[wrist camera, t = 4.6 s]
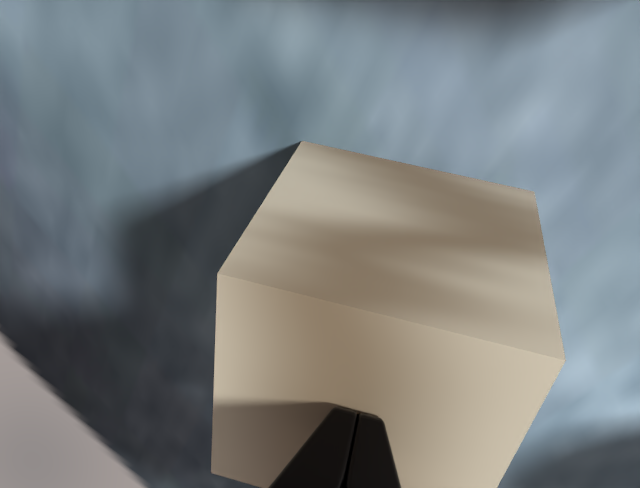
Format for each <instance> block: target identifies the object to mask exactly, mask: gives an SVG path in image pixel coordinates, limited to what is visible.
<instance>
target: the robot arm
mask: <svg viewBox="0 0 640 488" xmlns="http://www.w3.org/2000/svg"><path fill="white" fill-rule="evenodd" d="M357 417H358V418H357ZM268 488H401V484H400V480H399V477H398V473H397V469H396V465H395V461H394V457H393V454H392V450H391V446H390V442H389V438H388V434H387V431H386V427H385V423H384V421H383V420H382V419H381V418H379V417H376V416H372V415H368V414H364V413H361V414H359V415H357V413H356V412H355V411H353V410H350V409H346V408H342V407H339V406H336V407H334V408H332V409H331V411H330V412H329V413H328V414H327V416H326V417H325V418H324V419H323V420H322V422H321V423H320V424H319V425H318V427H317V428H316V429H315V430H314V432H313V433H312V434H311V435H310V437H309V438H308V439H307V440H306V442H305V443H304V444H303V445H302V446H301V448H300V449H299V450H298V451H297V453H296V454H295V455H294V456H293V458H292V459H291V460H290V461H289V463H288V464H287V465H286V466H285V468H284V469H283V470H282V471H281V473H280V474H279V475H278V476H277V477H276V479H275V480H274V481H273V482H272V484H271V485H270V486H269V487H268Z"/></svg>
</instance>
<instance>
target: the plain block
mask: <svg viewBox="0 0 640 488" xmlns="http://www.w3.org/2000/svg"><path fill="white" fill-rule="evenodd" d="M565 361H566V359H565V354H564V349H563V343H562V338H561V333H560V327H559V322H558V316H557V311H556V306H555V300H554V295H553V290H552V284H551V279H550V273H549V268H548V263H547V257H546V252H545V247H544V241H543V236H542V230H541V225H540V220H539V214H538V209H537V204H536V198H535V193H534V192H533V191H529V190H524V189H520V188H515V187H510V186H506V185H501V184H497V183H492V182H488V181H483V180H478V179H474V178H469V177H465V176H460V175H456V174H451V173H446V172H442V171H437V170H433V169H428V168H424V167H419V166H414V165H410V164H405V163H401V162H396V161H392V160H387V159H382V158H378V157H373V156H369V155H364V154H360V153H355V152H350V151H346V150H341V149H337V148H332V147H328V146H323V145H319V144H314V143H309V142H305V141H302V142H301V143H300V145H299V146H298V148H297V149H296V151H295V153H294V154H293V156H292V157H291V159H290V160H289V162H288V164H287V165H286V167H285V168H284V170H283V171H282V173H281V175H280V176H279V178H278V179H277V181H276V182H275V184H274V185H273V187H272V189H271V190H270V192H269V193H268V195H267V196H266V198H265V200H264V201H263V203H262V204H261V206H260V207H259V209H258V211H257V212H256V214H255V215H254V217H253V218H252V220H251V221H250V223H249V225H248V226H247V228H246V229H245V231H244V232H243V234H242V236H241V237H240V239H239V240H238V242H237V243H236V245H235V246H234V248H233V250H232V251H231V253H230V254H229V256H228V257H227V259H226V261H225V262H224V264H223V265H222V267H221V268H220V270H219V272H218V273H217V300H216V331H215V362H214V394H213V425H212V457H211V473H213V474H216V475H220V476H223V477H227V478H230V479H233V480H237V481H240V482H244V483H247V484H251V485H254V486H257V487H261V488H268V487H269V486H270V485H271V484H272V482H273V481H274V480H275V479H276V477H277V476H278V475H279V474H280V473H281V471H282V470H283V469H284V468H285V466H286V465H287V464H288V463H289V461H290V460H291V459H292V458H293V456H294V455H295V454H296V453H297V451H298V450H299V449H300V448H301V446H302V445H303V444H304V443H305V442H306V440H307V439H308V438H309V437H310V435H311V434H312V433H313V432H314V430H315V429H316V428H317V427H318V425H319V424H320V423H321V422H322V420H323V419H324V418H325V417H326V416H327V414H328V413H329V412H330V411H331V409H332V408H334V407H336V406H339V407H342V408H346V409H350V410H353V411H355V412H356V413H357V415H359V414H361V413H364V414H368V415H372V416H376V417H379V418H381V419H382V420H383V421H384V423H385V427H386V431H387V434H388V438H389V442H390V446H391V450H392V454H393V457H394V461H395V465H396V469H397V473H398V477H399V480H400V484H401V488H497V487H498V485H499V483H500V481H501V479H502V477H503V476H504V474H505V472H506V470H507V468H508V466H509V465H510V463H511V461H512V459H513V457H514V455H515V453H516V452H517V450H518V448H519V446H520V444H521V442H522V440H523V439H524V437H525V435H526V433H527V431H528V429H529V427H530V426H531V424H532V422H533V420H534V418H535V416H536V415H537V413H538V411H539V409H540V407H541V405H542V403H543V402H544V400H545V398H546V396H547V394H548V392H549V390H550V389H551V387H552V385H553V383H554V381H555V379H556V378H557V376H558V374H559V372H560V370H561V368H562V366H563V365H564V363H565ZM357 418H358V417H357Z"/></svg>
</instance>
